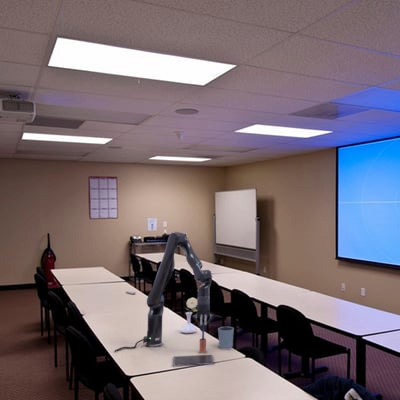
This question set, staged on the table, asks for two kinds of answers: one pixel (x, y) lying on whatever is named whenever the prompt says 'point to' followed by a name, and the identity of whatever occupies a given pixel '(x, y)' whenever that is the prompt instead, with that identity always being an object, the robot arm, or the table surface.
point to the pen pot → (202, 346)
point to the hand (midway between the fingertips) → (203, 330)
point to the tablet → (193, 360)
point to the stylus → (202, 331)
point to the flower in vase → (189, 327)
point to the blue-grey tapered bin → (226, 337)
